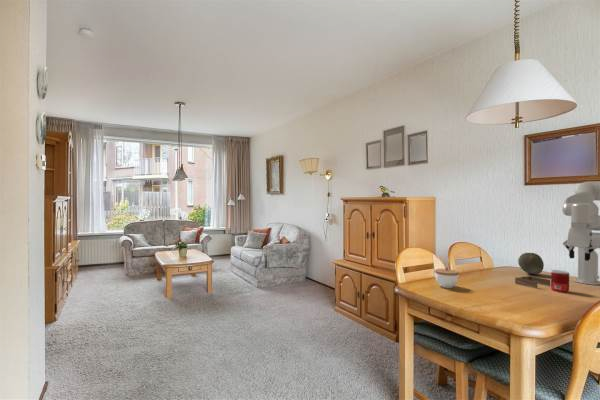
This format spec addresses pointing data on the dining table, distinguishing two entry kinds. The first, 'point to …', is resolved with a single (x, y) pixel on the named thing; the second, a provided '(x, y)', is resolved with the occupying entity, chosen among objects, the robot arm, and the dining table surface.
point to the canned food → (560, 281)
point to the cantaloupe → (531, 263)
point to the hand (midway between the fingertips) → (579, 259)
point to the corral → (531, 281)
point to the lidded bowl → (446, 277)
